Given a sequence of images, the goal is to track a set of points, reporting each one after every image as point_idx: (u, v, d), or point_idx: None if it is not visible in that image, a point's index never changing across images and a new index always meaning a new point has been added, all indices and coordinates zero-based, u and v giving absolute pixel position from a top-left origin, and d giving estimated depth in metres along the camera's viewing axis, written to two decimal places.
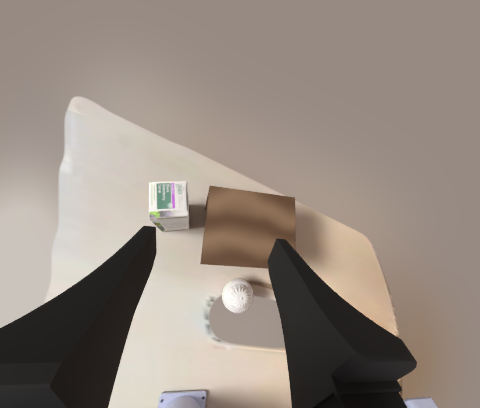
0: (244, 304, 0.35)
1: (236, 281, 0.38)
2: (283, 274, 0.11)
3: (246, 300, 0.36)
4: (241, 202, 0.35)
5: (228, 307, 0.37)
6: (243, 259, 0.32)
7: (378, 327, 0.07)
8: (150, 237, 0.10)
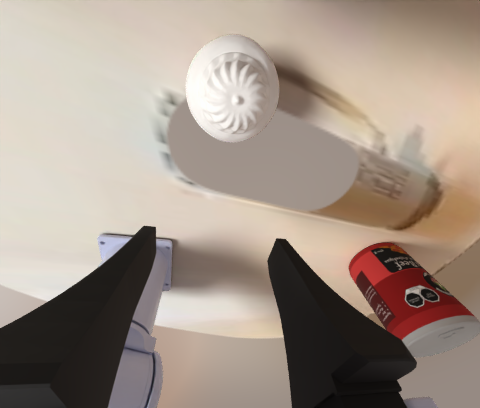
0: (244, 121, 0.11)
1: (231, 42, 0.11)
2: (283, 274, 0.11)
3: (252, 110, 0.11)
4: None
5: (202, 123, 0.13)
6: None
7: (378, 327, 0.07)
8: (150, 237, 0.10)
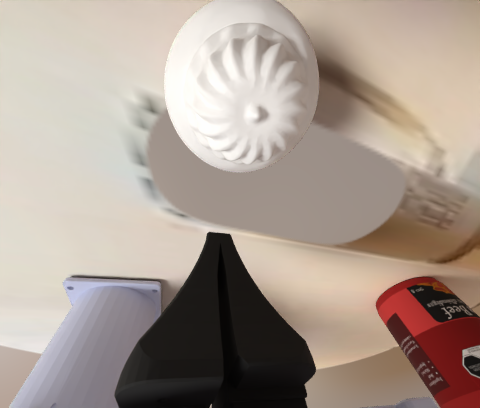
0: (266, 150, 0.06)
1: (243, 5, 0.06)
2: (219, 270, 0.10)
3: (282, 131, 0.06)
4: None
5: (192, 147, 0.08)
6: None
7: (286, 326, 0.06)
8: None
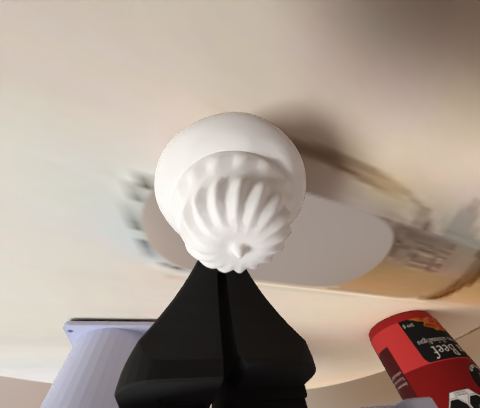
0: (250, 268, 0.06)
1: (229, 133, 0.06)
2: None
3: (266, 257, 0.06)
4: None
5: None
6: None
7: (286, 326, 0.06)
8: None
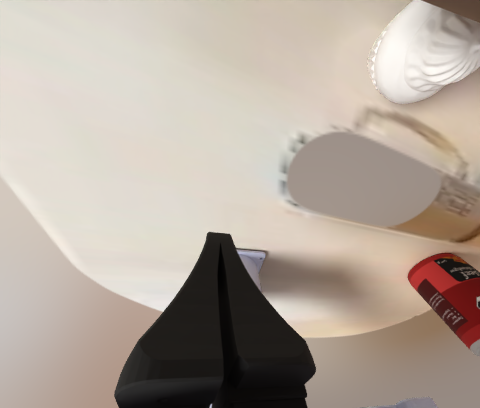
0: (468, 71, 0.11)
1: None
2: (219, 270, 0.10)
3: None
4: None
5: (391, 83, 0.13)
6: None
7: (286, 326, 0.06)
8: None
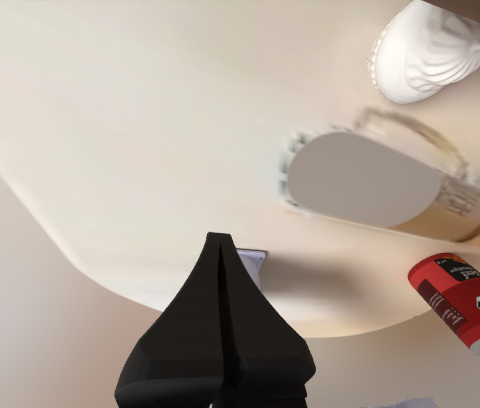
0: (468, 70, 0.11)
1: None
2: (219, 270, 0.10)
3: None
4: None
5: (391, 83, 0.13)
6: None
7: (286, 326, 0.06)
8: None
